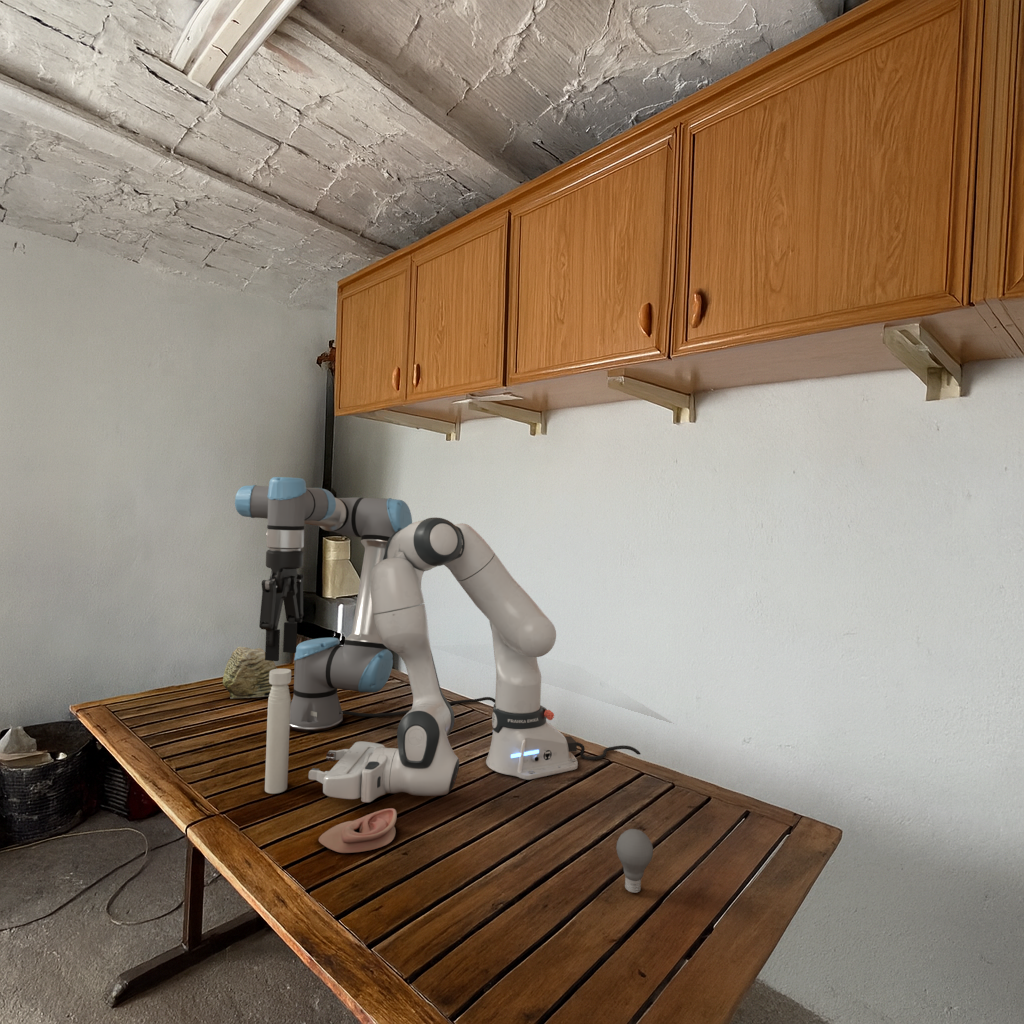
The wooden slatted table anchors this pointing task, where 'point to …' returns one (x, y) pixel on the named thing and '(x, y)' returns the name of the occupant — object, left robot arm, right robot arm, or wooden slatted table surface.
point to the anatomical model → (362, 833)
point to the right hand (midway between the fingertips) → (318, 764)
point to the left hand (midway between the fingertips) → (281, 656)
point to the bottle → (277, 739)
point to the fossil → (248, 673)
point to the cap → (280, 676)
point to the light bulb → (634, 857)
